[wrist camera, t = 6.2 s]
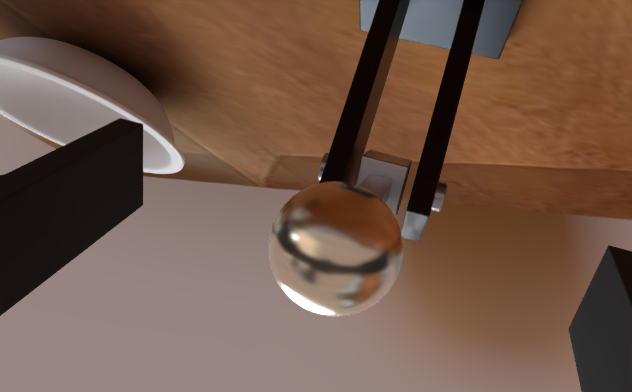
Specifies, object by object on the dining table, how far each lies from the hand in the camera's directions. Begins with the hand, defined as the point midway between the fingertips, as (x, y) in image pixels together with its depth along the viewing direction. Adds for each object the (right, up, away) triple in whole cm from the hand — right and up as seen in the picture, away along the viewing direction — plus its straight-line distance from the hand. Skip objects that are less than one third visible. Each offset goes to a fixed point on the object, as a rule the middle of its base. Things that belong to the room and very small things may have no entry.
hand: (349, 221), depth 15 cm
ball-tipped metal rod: (+1, +2, +5) cm, 5 cm away
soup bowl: (-24, +14, +43) cm, 51 cm away
